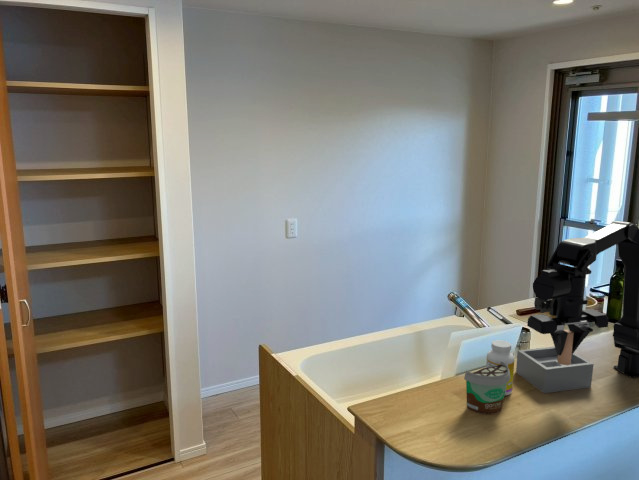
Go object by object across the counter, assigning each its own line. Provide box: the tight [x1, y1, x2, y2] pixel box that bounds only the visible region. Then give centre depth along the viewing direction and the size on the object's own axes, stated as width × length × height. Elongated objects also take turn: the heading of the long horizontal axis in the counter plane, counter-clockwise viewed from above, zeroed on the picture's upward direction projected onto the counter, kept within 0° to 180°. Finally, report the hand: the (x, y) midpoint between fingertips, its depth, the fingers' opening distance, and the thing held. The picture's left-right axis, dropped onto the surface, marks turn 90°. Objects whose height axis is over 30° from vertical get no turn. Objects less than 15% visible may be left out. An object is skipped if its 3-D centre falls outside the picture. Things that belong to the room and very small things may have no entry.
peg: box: [557, 329, 574, 365], centre depth 126 cm, size 3×3×8 cm
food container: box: [464, 361, 510, 415], centre depth 122 cm, size 12×6×10 cm, turn 118°
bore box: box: [515, 346, 594, 394], centre depth 138 cm, size 14×12×6 cm
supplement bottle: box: [485, 339, 515, 397], centre depth 131 cm, size 7×7×13 cm
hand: (564, 354), depth 126 cm, fingers closed on peg, 3 cm apart
